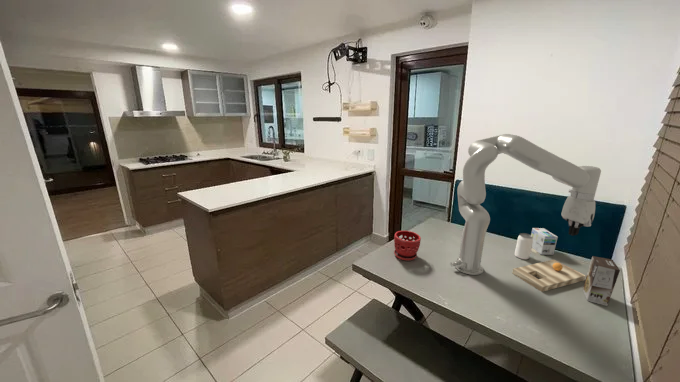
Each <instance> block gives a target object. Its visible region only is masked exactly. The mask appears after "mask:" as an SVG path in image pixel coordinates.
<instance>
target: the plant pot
mask: <svg viewBox="0 0 680 382" xmlns="http://www.w3.org/2000/svg"><path fill="white" fill-rule="evenodd" d="M400 236H401V238H400ZM421 240H422V238H421V236H420V235H419V234H418V233H417V232H414V231H410V230H398V231H396V232H395V233H394V236H393V242H394V243H393V245H394V251H393V254H394V256H395V257H396V258H398V259H399V260H401V261H402V260H403V261H408V262H409V261H413V260H415V259H416V258H417V255H418V251H419V249H420V246H421Z"/></svg>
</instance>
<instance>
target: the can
mask: <svg viewBox="0 0 680 382" xmlns="http://www.w3.org/2000/svg"><path fill="white" fill-rule="evenodd" d="M532 244H533V236H531V234H529V233H526V232H522V233H521V232H520V233H519V235H518V237H517V240H516V246H515V250H514V256H515V257H516V258H518V259H521V260H528V259H529V260H530V256H531V252H532V249H533V248H532Z"/></svg>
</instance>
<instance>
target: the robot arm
mask: <svg viewBox="0 0 680 382" xmlns="http://www.w3.org/2000/svg"><path fill="white" fill-rule="evenodd" d="M467 152H468V155H469V158H468V159H467V160H466V161H465V163H464V165H463V168H462V180H461V181H460V182H459V183H458V186H457V189H456V191H457V202H458V203H457V204H458V205H457V206H458V211H459V213H460V216H461V217H462V218H463V219H464V220H465V223H464V226H463V229H462V233H461V241H460V248H459V256H458V257H457V259H456V260H455V261H451V262H450V263H449V265H450V267H455V268H456V269H457V271H459V272H461V273H463V274H465V275H466V274H467V275H470V276H478V275H481V274H483V273H484V266H482V265H481V264H482V258H483V250H484V246H485V239H486V234H487V231H488V230H487V229H488V227H489V225H490V222H491V217H490V214H489V212H488V211H487V209H486V208H485V207H483V206H482V205H481V204H482V203H484V202H485V199H486V196H487V192H486V191H487V190H486V181H485V179H486V178H485V176H486V175H485V173H486V170H487V168H488V167H489V165H491V163H494V162H495V160H496V159H497V157H498V155H500V154H504V155H507V156H509V157H511V158H513V159H514V160H516V161H518V162H520V163H521V164H524V165H526V167H529V168H531V169H533V170H535V171H538V172H540V173H544V174H545V175H547V176H548V175H549V176H551V177H552V179H554V180H555V182H558V183H561V184H564V185H565V186H566V185H567V186H569V187H571V189H569V190H568V193H570V195H568V196H567V198H566V200H564V204H563V206H562V210H561V217H562V219H563V220H565V221H567V223H568V227H569V228H568V235H569V236H578V234H580V229H581V228H582V227H587V228H588V227H591V226H592V223H593V221H594V218H595V214H596V200H595V197H596V193H597V188H598V184H599V181H600V177H601V175H602V173H601V172H602V170H601V168H600V167H597V166H592V165H591V166H590V165H581V166H580V165H579V166H578V165H577V164H574V163H573V162H570V161H568V160H566V159H565V158H562V157H560V156H558V155H556V154H555V153H553V152H550V151H548V150H547V149H545V148H542V147H541V146H539V145H537V144H535V143H533V142H531V141H530V140H528V139H526V138H525V137H522V136H520V135H516V134H510V133H504V134H499V135H496V136H491V137H486V138H483V139H479V140H475V141H473V142H471V144H470V145H469V147H468V149H467Z"/></svg>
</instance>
